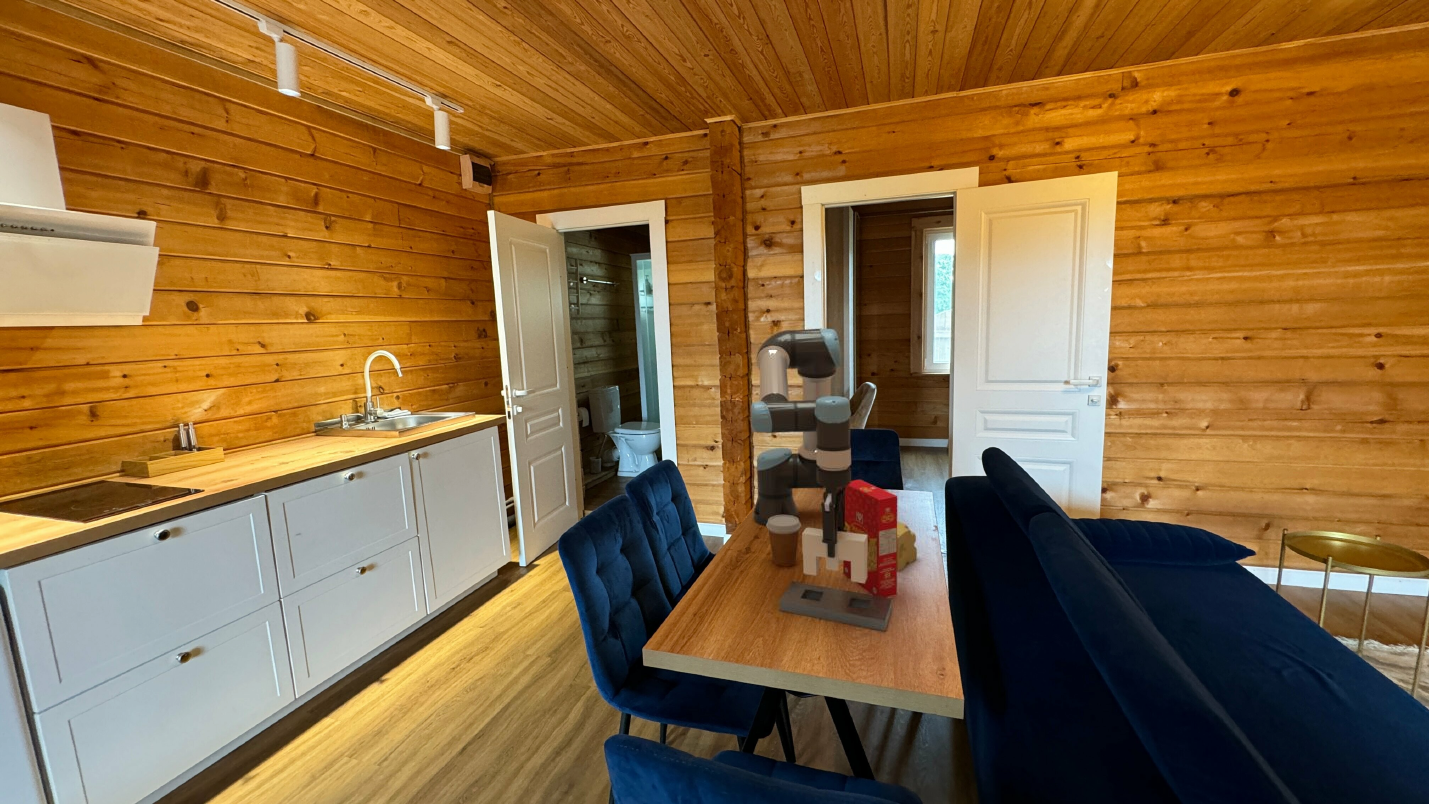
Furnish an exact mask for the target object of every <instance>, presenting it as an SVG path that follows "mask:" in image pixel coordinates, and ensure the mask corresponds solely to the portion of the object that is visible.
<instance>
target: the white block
mask: <svg viewBox="0 0 1429 804" xmlns="http://www.w3.org/2000/svg"><path fill="white" fill-rule="evenodd" d="M801 539H802V540H801V542H802V543H801V544H802V546H801V547H802V548H801V551H802V555H803V557H802V558H803V559H802V561H803V563H802V564H803V574H805V575H809V576H817V575H818V574H819V573H820V570H821V569H820V568H821V567H820V557H821V558H825V559H826V543H823V542H822V540H823V528H814V527H806V528H805V529H804V531H803V532H802V533H801ZM837 542H838V546H839V560H846V561H851V579H850V581H851V582H853V583H855V582H859V583H865V582H866V579H867V556H868V545H867V535H864V534H856V533H848V532H840V531H837Z"/></svg>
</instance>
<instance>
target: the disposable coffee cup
mask: <svg viewBox="0 0 1429 804" xmlns="http://www.w3.org/2000/svg"><path fill="white" fill-rule="evenodd" d="M765 526H766V528H767V530H768V536H769V542H770V548H771V555H772V560H773V561H772V562H773V563H774V564H775V565H778V566H780V567H789V566H790V567H791V566H792V565H795V564H796V562H797V556H798V555H797V553H798V543H799V535H800V529H801V527H802V523H801V522H800V520H799V517H798V518H796V517H794V516H790V515H776V516H773V517H770V518H769V519H768V523H767V524H766V525H765Z"/></svg>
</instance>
